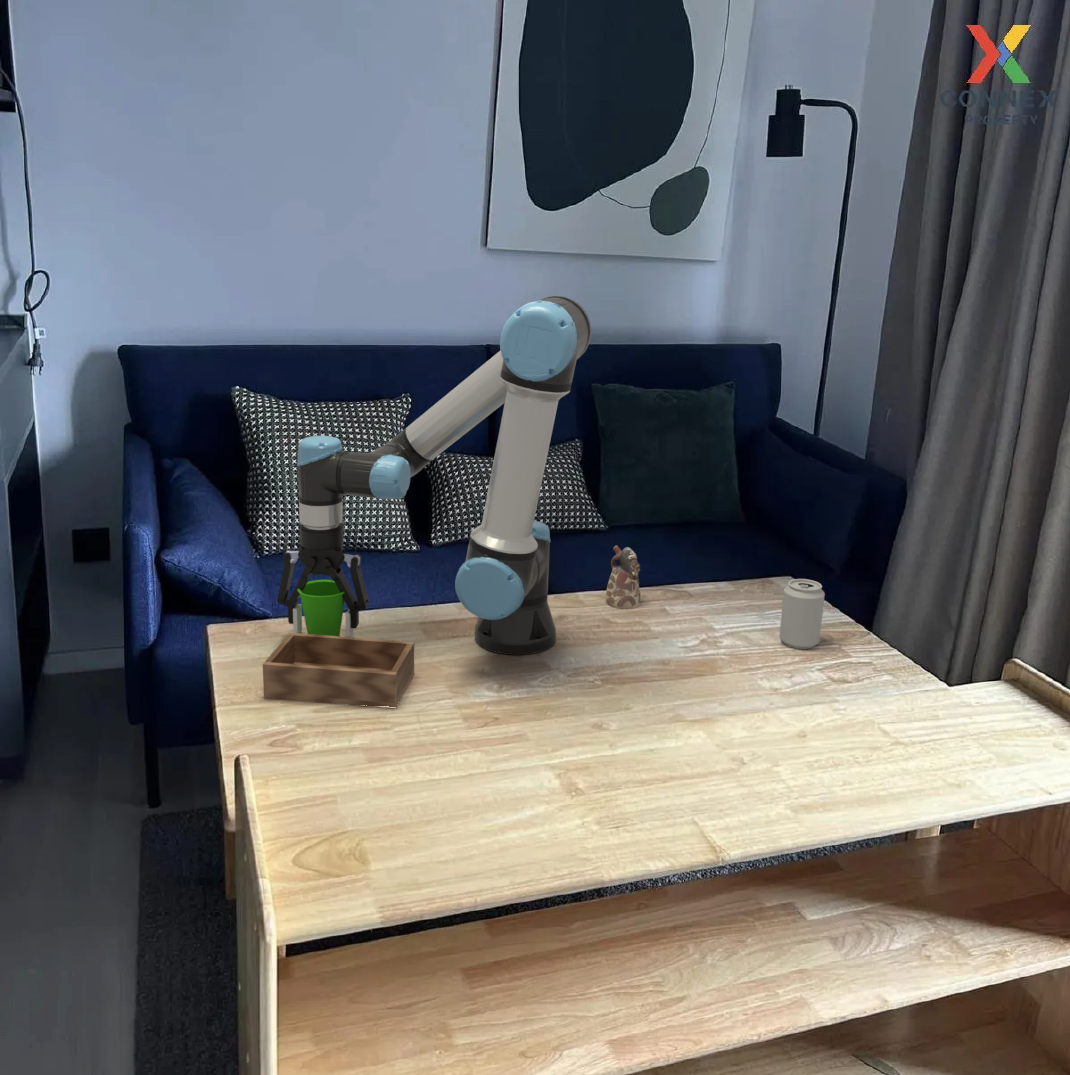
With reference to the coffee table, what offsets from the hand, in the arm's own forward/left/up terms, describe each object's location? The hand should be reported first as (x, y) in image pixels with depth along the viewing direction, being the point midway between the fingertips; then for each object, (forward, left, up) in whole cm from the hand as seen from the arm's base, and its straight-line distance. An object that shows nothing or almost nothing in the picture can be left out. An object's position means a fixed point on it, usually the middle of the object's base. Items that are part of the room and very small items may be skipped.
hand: (324, 641), depth 216 cm
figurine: (-53, -33, -1) cm, 62 cm away
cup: (0, 0, -1) cm, 1 cm away
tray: (-8, +17, 0) cm, 19 cm away
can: (-87, -18, -1) cm, 89 cm away
